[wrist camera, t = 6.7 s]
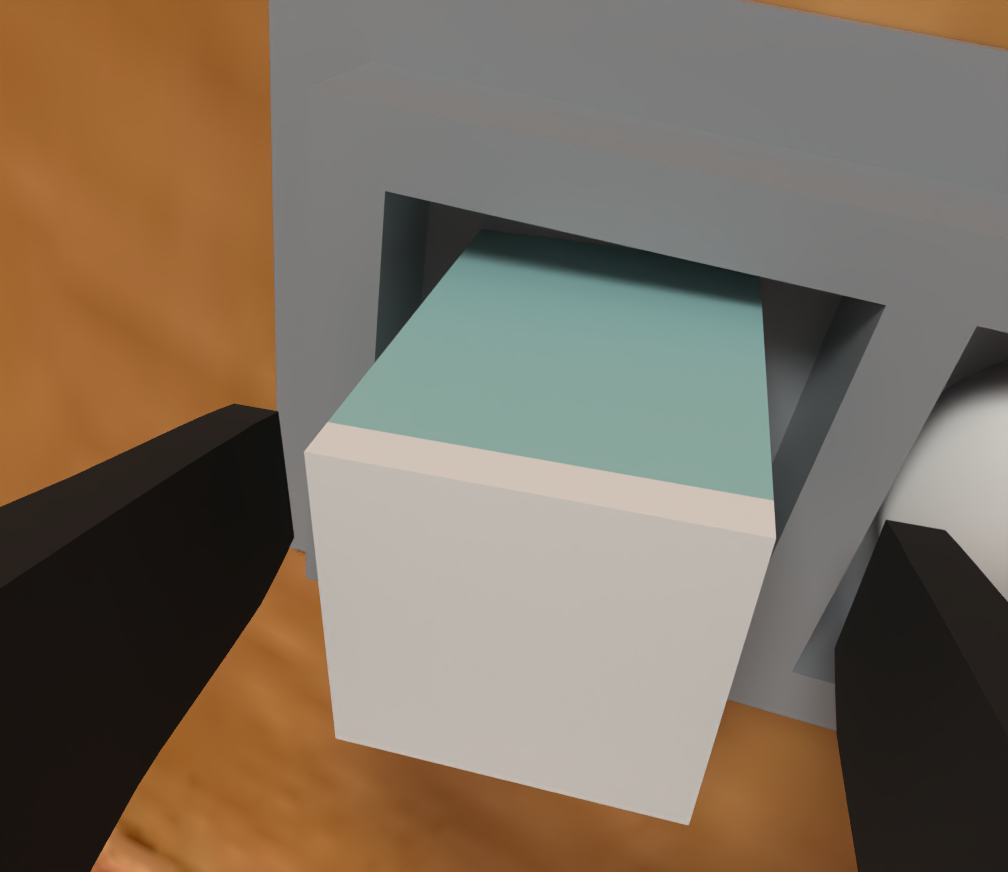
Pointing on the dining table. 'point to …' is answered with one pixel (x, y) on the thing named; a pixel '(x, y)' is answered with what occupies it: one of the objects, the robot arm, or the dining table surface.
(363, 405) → the teal and white block
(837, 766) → the dining table surface
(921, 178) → the housing
